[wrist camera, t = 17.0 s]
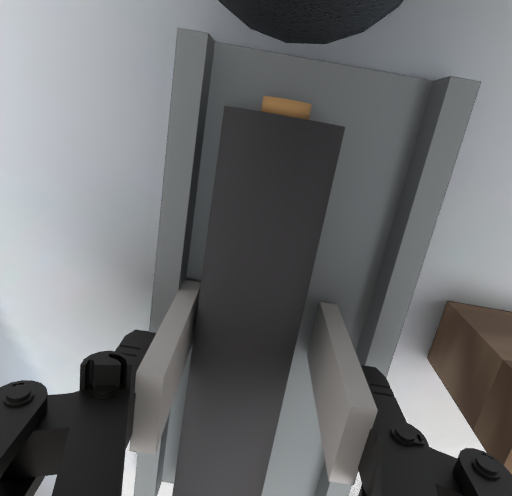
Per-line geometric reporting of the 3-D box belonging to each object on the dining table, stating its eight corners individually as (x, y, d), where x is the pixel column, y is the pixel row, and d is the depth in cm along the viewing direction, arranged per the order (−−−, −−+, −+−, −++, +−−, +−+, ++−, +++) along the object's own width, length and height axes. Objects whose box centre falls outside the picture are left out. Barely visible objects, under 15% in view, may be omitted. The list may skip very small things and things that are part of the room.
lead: (266, 100, 15) (200, 83, 12) (365, 115, 14) (319, 100, 10) (205, 470, 21) (150, 528, 18) (268, 516, 19) (219, 589, 16)
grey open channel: (191, 40, 15) (177, 27, 13) (453, 86, 15) (481, 81, 13) (146, 468, 21) (132, 504, 19) (329, 500, 21) (334, 539, 19)
